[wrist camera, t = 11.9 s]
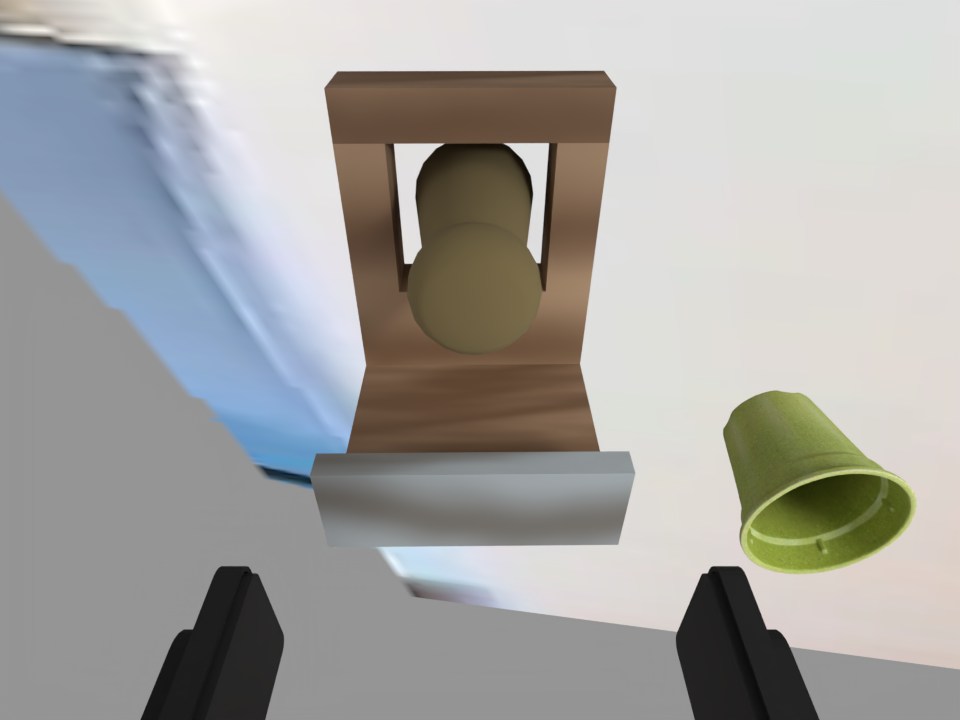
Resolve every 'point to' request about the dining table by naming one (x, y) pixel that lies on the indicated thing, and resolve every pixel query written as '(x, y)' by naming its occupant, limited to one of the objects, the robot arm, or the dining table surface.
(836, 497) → the plant pot
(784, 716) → the robot arm
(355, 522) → the socket stand
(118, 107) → the dining table surface
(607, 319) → the dining table surface
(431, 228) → the cork
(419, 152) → the dining table surface
